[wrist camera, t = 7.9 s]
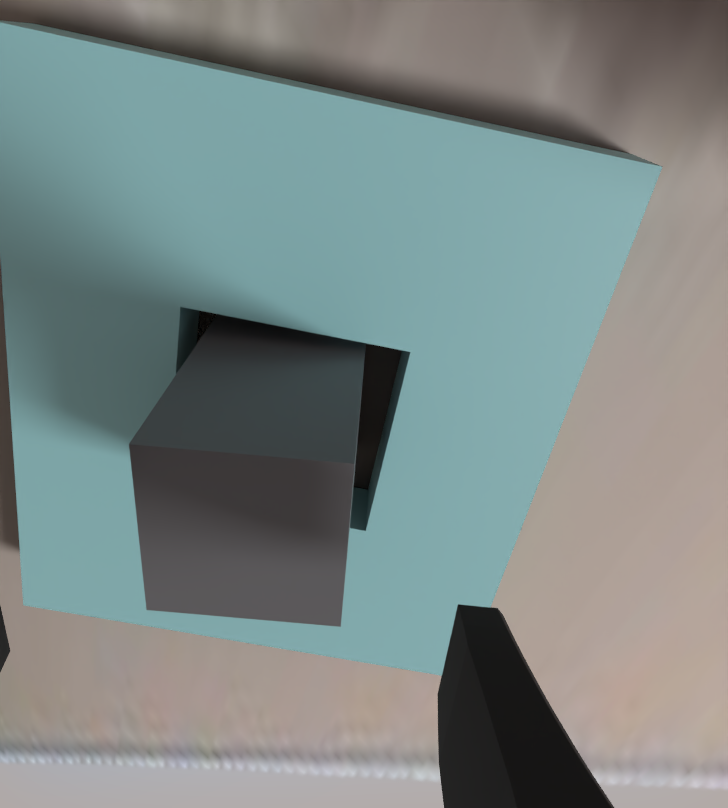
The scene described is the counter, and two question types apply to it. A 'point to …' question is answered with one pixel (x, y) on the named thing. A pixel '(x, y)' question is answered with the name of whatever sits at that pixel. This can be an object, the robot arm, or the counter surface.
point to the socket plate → (291, 311)
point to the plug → (251, 476)
